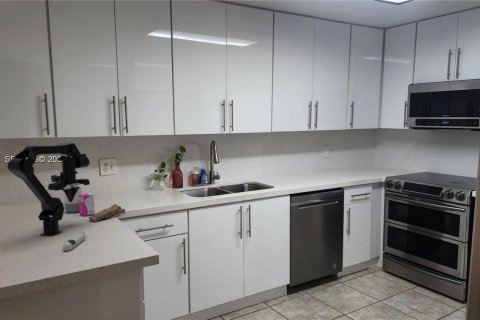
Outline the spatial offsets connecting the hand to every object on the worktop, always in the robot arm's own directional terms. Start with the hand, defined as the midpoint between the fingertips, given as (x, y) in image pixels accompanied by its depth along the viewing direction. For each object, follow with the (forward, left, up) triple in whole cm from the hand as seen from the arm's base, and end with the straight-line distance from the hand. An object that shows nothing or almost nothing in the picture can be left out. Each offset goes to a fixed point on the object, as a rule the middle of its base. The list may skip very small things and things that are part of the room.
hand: (70, 202), depth 172 cm
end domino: (+19, -8, -12) cm, 24 cm away
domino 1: (+10, -5, -11) cm, 15 cm away
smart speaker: (+29, +16, -12) cm, 35 cm away
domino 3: (+20, -9, -11) cm, 25 cm away
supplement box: (+23, +5, -12) cm, 27 cm away
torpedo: (-24, -16, -12) cm, 31 cm away
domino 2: (+16, -7, -11) cm, 21 cm away
